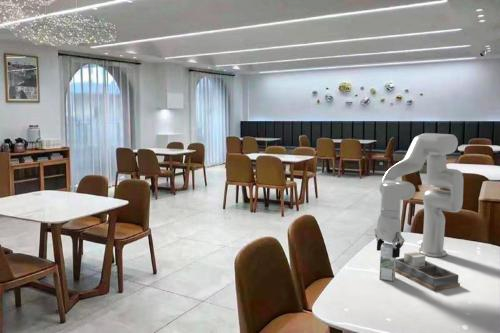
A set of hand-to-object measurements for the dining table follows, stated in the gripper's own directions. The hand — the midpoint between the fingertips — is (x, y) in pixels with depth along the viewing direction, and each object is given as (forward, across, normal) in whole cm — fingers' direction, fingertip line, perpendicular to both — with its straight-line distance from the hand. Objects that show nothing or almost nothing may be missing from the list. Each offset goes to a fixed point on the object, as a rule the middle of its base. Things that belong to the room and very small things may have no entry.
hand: (387, 253), depth 184 cm
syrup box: (+11, 0, +1) cm, 11 cm away
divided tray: (+11, +5, +16) cm, 20 cm away
